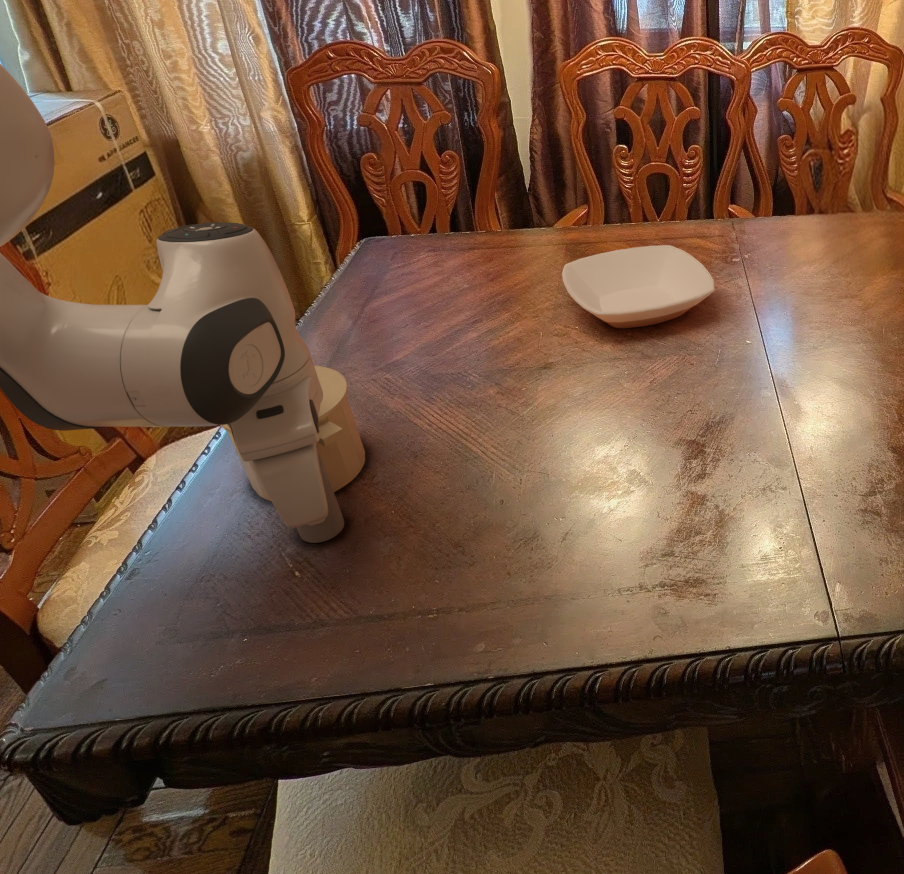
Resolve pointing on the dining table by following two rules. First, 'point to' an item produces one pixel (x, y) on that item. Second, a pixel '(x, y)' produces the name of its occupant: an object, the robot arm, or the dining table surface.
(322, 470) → the planter
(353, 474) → the pot
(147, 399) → the robot arm
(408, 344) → the dining table surface
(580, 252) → the dining table surface
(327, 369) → the pot lid
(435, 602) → the dining table surface
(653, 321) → the bowl
